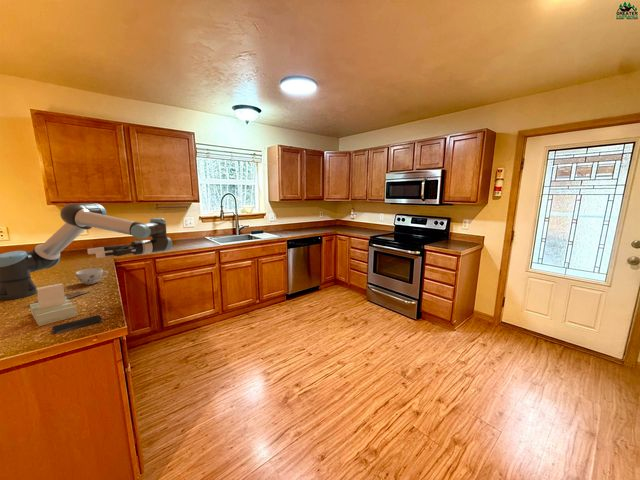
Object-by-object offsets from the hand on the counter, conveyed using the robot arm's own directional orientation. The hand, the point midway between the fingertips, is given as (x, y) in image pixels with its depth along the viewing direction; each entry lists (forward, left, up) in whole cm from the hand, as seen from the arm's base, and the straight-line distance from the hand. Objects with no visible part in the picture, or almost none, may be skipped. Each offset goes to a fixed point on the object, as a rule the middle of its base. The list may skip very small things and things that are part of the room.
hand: (91, 253), depth 127 cm
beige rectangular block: (0, -16, -24) cm, 29 cm away
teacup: (-43, +8, -26) cm, 51 cm away
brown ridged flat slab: (-24, -11, -27) cm, 37 cm away
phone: (+21, -12, -27) cm, 36 cm away
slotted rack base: (0, -16, -26) cm, 30 cm away
